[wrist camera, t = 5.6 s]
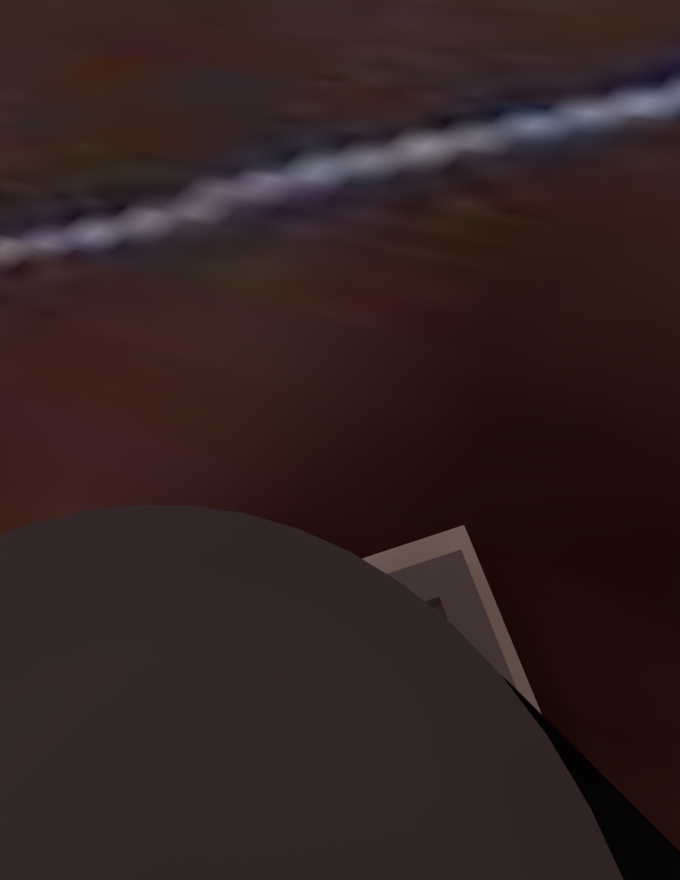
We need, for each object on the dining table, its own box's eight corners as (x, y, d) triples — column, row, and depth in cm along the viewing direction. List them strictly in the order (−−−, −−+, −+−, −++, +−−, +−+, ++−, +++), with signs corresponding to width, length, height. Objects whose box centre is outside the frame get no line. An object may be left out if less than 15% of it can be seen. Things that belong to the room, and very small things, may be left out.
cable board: (461, 534, 19) (468, 509, 17) (634, 960, 14) (675, 1005, 12) (-247, 766, 19) (-339, 773, 16) (-312, 1291, 14) (-453, 1402, 12)
